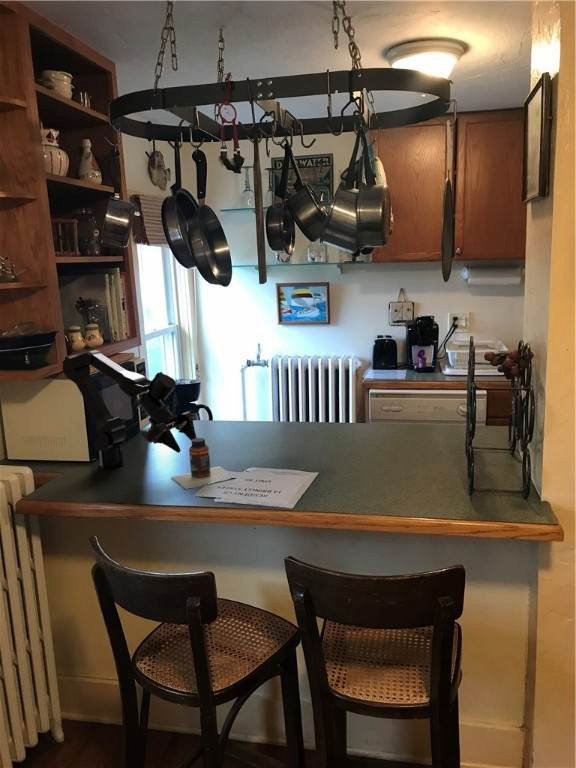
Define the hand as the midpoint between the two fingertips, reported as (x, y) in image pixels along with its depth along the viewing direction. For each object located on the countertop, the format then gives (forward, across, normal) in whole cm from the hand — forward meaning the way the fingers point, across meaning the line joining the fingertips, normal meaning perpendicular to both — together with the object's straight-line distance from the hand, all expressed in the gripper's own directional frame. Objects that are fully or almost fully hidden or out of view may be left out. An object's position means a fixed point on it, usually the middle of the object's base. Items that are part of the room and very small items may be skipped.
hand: (188, 447), depth 188 cm
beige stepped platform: (+10, +1, -2) cm, 10 cm away
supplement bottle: (+9, 0, -3) cm, 9 cm away
